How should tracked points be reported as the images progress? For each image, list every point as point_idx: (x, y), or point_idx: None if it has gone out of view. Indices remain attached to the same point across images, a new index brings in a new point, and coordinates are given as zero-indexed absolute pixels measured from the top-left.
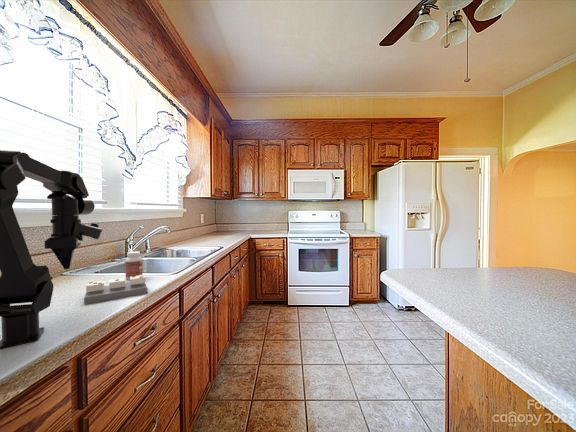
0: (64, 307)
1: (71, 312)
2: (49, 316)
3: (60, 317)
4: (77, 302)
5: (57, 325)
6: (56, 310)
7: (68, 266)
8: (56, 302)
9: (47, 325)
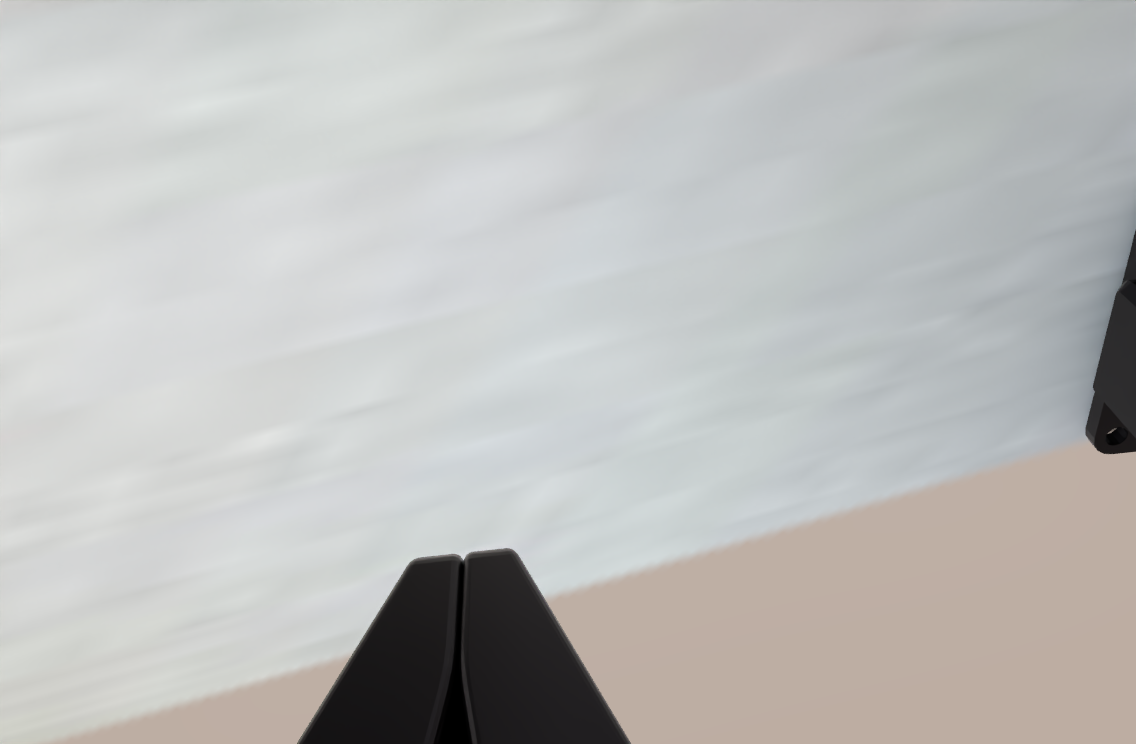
0: (331, 172)
1: (654, 17)
2: (657, 253)
3: (796, 113)
4: (124, 39)
5: (1110, 71)
6: (430, 239)
7: (548, 614)
8: (9, 337)
9: (1012, 184)
